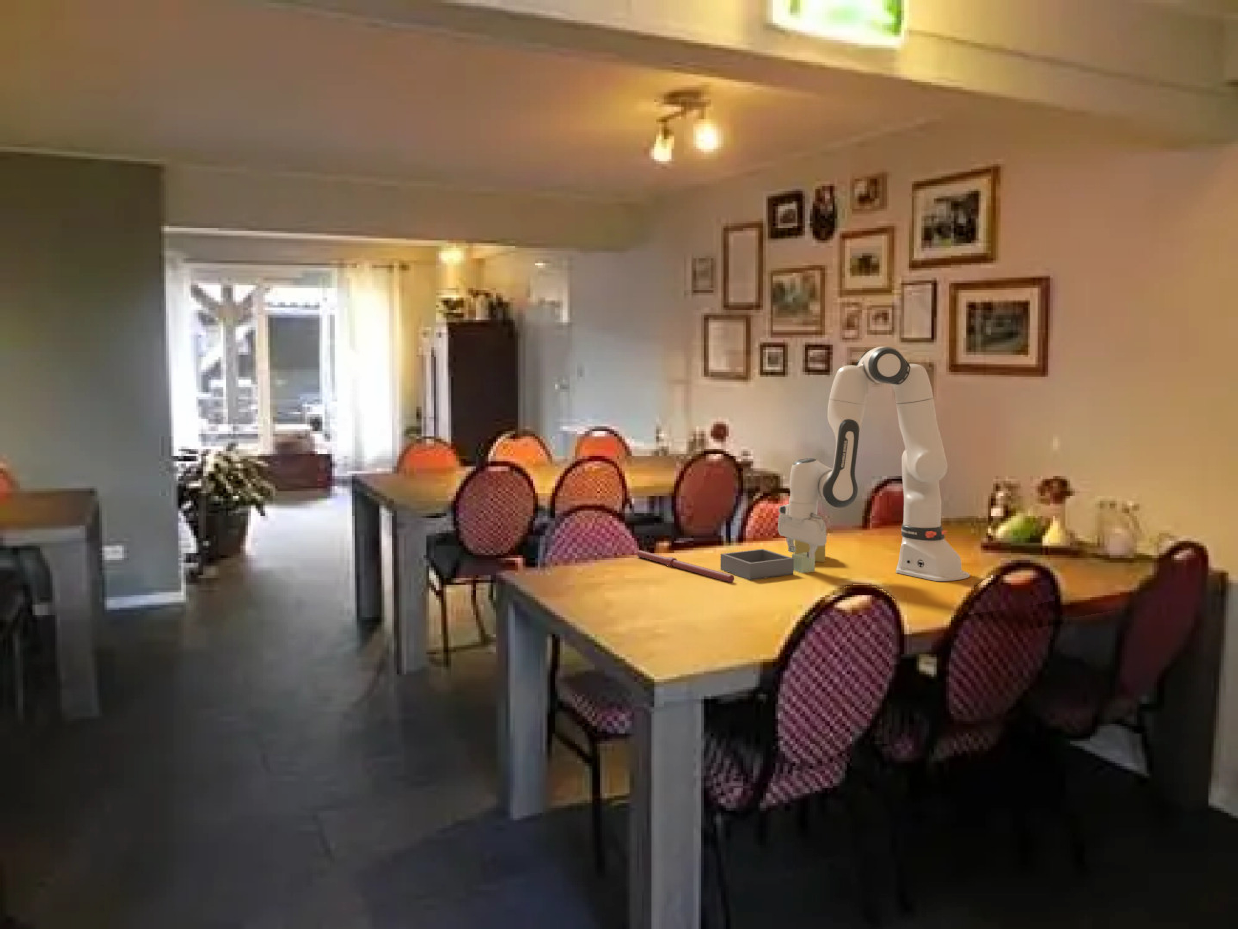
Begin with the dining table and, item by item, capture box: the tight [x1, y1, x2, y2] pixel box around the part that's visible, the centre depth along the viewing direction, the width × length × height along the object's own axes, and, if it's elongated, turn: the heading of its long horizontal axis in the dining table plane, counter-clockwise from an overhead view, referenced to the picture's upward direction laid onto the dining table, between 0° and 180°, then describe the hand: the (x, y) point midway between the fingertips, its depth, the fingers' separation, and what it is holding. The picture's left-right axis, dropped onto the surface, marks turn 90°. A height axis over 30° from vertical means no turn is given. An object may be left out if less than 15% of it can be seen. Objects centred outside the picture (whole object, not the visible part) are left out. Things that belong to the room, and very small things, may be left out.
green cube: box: [791, 553, 816, 574], centre depth 311 cm, size 5×5×5 cm
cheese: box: [792, 539, 826, 563], centre depth 328 cm, size 10×11×10 cm
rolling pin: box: [636, 550, 735, 583], centre depth 314 cm, size 45×3×3 cm, turn 36°
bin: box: [720, 548, 794, 581], centre depth 309 cm, size 16×16×5 cm
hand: (801, 555), depth 311 cm, fingers open, 8 cm apart
